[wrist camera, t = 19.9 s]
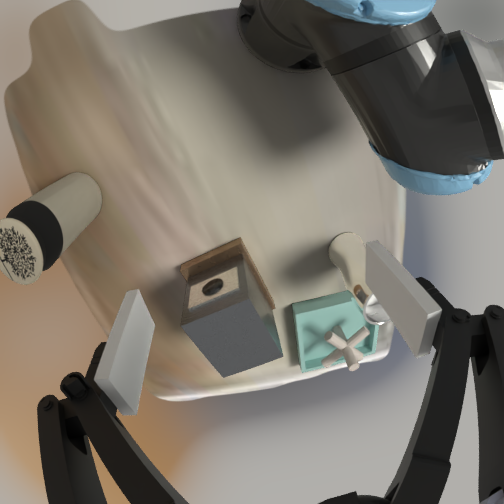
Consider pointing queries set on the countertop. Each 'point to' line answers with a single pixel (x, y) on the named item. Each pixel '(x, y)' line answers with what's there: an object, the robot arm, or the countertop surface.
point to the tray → (328, 328)
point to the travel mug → (46, 226)
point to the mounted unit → (229, 310)
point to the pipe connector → (344, 347)
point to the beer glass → (356, 276)
